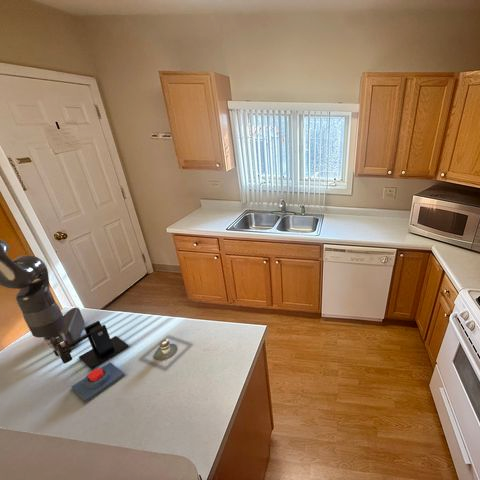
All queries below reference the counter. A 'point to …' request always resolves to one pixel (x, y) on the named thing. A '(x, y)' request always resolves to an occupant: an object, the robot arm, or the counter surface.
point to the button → (96, 374)
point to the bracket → (101, 346)
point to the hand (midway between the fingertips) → (64, 357)
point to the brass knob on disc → (165, 350)
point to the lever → (83, 337)
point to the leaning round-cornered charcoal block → (73, 325)
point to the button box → (97, 382)
